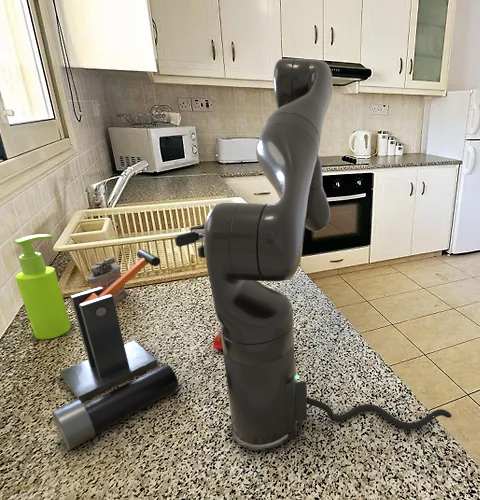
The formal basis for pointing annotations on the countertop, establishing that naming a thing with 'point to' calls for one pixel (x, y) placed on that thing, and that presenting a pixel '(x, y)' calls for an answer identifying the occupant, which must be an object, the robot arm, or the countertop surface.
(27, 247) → the soap dispenser
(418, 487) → the countertop surface
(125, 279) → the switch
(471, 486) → the countertop surface
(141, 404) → the flashlight
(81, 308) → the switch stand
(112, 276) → the lighter
